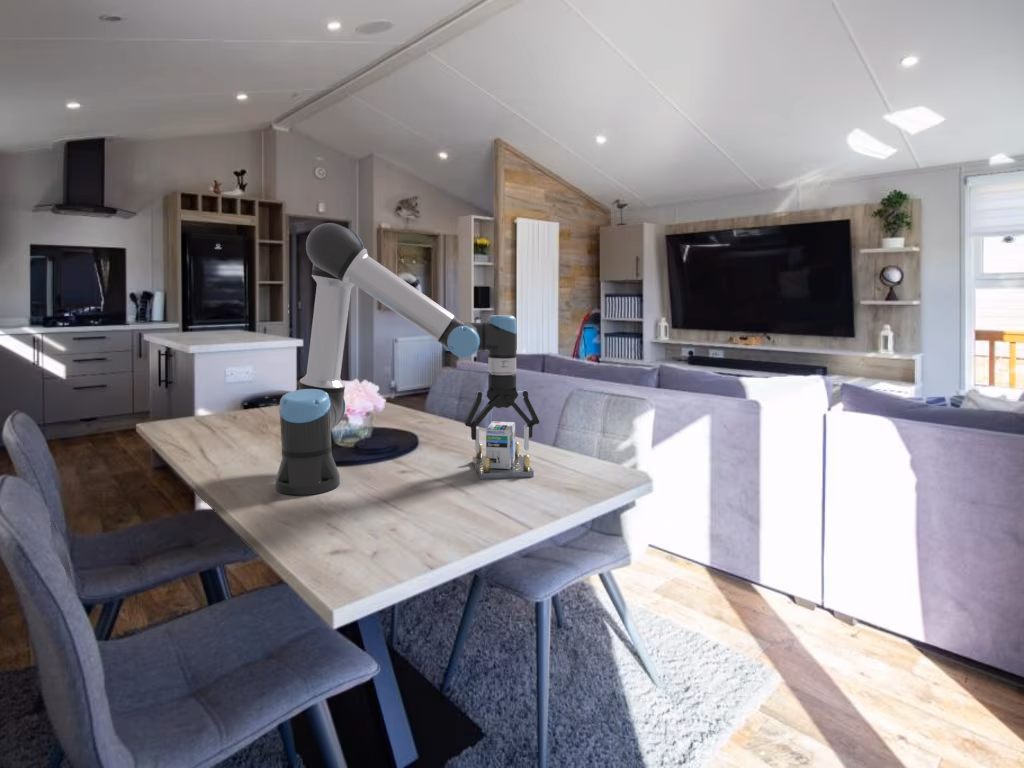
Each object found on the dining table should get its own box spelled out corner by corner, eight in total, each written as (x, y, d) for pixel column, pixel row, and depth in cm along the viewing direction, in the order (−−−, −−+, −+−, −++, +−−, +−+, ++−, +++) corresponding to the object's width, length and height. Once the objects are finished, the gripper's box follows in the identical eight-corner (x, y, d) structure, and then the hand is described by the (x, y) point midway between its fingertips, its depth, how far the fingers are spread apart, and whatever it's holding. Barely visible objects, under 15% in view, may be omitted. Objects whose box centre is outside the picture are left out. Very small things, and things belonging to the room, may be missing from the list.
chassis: (480, 479, 164) (480, 458, 163) (472, 461, 180) (472, 442, 179) (533, 476, 166) (533, 456, 166) (520, 459, 183) (520, 441, 182)
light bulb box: (510, 469, 167) (510, 429, 166) (485, 468, 168) (485, 429, 167) (515, 459, 178) (515, 421, 176) (491, 458, 179) (491, 420, 177)
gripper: (457, 375, 163) (457, 455, 167) (551, 374, 168) (549, 451, 171) (454, 371, 171) (454, 448, 174) (544, 370, 175) (543, 445, 178)
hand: (501, 450), depth 173 cm, fingers open, 13 cm apart
